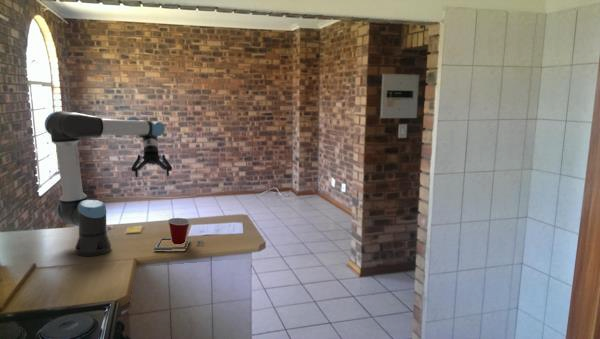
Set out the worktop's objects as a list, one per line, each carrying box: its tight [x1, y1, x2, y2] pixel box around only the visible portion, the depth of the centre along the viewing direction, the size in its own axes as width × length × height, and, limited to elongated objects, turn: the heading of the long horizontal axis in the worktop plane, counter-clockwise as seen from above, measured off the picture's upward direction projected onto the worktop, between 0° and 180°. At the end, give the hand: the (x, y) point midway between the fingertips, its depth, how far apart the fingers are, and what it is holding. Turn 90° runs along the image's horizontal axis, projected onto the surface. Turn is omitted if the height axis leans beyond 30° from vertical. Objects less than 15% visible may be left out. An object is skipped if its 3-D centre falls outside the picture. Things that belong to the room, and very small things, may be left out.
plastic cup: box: [167, 217, 191, 244], centre depth 210 cm, size 11×11×12 cm
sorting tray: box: [153, 237, 190, 251], centre depth 208 cm, size 15×15×2 cm
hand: (152, 181), depth 218 cm, fingers open, 13 cm apart
